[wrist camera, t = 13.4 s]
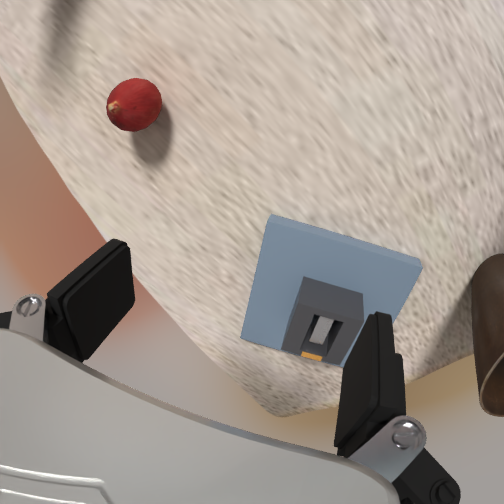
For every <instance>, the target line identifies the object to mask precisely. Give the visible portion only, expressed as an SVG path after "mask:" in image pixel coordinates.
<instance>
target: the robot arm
mask: <svg viewBox="0 0 504 504" xmlns="http://www.w3.org/2000/svg"><path fill="white" fill-rule="evenodd" d="M47 296H48V298H47V299H46V300H45V299H44V298H43V297H42V296H40V295H37V294H29V295H25V296H23V297H21V298H20V299H19V300H17V302H16V303H15V304H14V307H13V310H12V311H10V312H4V313H0V504H459V501H460V489H459V485H458V484H457V483H456V481H455V480H454V479H453V478H452V477H451V476H450V475H449V474H448V473H447V472H446V471H445V469H444V468H443V467H442V466H441V465H440V464H439V463H438V462H437V461H436V460H435V459H434V458H433V457H432V456H431V455H430V453H429V452H428V451H427V450H426V449H425V448H424V446H425V444H426V439H427V437H426V431H425V429H424V427H423V426H422V425H421V423H420V422H419V421H418V420H416V419H415V418H412V417H410V416H406V401H405V383H404V370H403V359H402V355H401V354H398V353H395V346H394V335H393V325H392V317H391V315H390V314H386V313H382V312H378V311H376V312H375V313H374V315H373V314H369V316H368V317H367V320H366V322H365V324H364V326H363V328H362V330H361V332H360V334H359V336H358V338H357V340H356V342H355V344H354V346H353V348H352V350H351V352H350V354H349V356H348V358H347V360H346V362H345V364H344V368H343V374H342V384H341V393H340V402H339V410H338V418H337V425H336V432H335V439H334V447H338V451H337V455H335V454H331V453H327V452H323V451H318V450H315V449H311V448H307V447H303V446H299V445H295V444H291V443H287V442H283V441H279V440H276V439H272V438H269V437H265V436H261V435H258V434H254V433H251V432H248V431H244V430H241V429H238V428H234V427H231V426H228V425H225V424H222V423H219V422H216V421H213V420H210V419H208V418H204V417H202V416H199V415H197V414H194V413H191V412H188V411H186V410H183V409H180V408H178V407H175V406H173V405H170V404H168V403H165V402H163V401H161V400H158V399H156V398H154V397H151V396H149V395H147V394H144V393H142V392H140V391H138V390H135V389H133V388H131V387H129V386H126V385H125V384H122V383H120V382H118V381H116V380H114V379H112V378H110V377H108V376H106V375H104V374H102V373H100V372H98V371H96V370H94V369H92V368H90V367H88V366H86V365H84V364H83V363H82V362H83V361H84V360H87V359H89V358H90V357H91V355H92V354H93V353H94V352H95V351H96V349H97V348H98V347H99V346H100V344H101V343H102V342H103V341H104V340H105V338H106V337H107V336H108V335H109V334H110V332H111V331H112V330H113V329H114V328H115V327H116V325H117V324H118V323H119V322H120V321H121V319H122V318H123V317H124V316H125V315H126V314H127V312H128V311H129V310H130V309H131V308H132V307H133V305H134V302H135V294H134V285H133V276H132V265H131V254H130V248H129V247H128V246H127V243H126V242H124V241H120V240H117V239H111V240H110V241H109V242H107V243H106V244H105V245H104V246H103V247H101V248H100V249H99V250H97V251H96V252H95V253H94V254H93V255H91V256H90V257H89V258H88V259H86V260H85V261H84V262H83V263H82V264H80V265H79V266H78V267H77V268H76V269H74V270H73V271H72V272H71V273H70V274H68V275H67V276H66V277H65V278H64V279H63V280H62V281H60V282H59V283H58V284H57V285H56V286H55V287H54V288H53V289H51V290H50V291H49V292H48V293H47ZM341 456H343V457H341Z"/></svg>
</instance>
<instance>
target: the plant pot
mask: <svg viewBox="0 0 504 504" xmlns="http://www.w3.org/2000/svg"><path fill="white" fill-rule="evenodd" d="M472 330H473V345H474V356H475V366H476V374H477V381H478V391H479V401H480V405H481V407H482V409H483V410H484V411H485V412H486V413H488V414H490V415H493V416H498V417H504V254H496V255H493V256H491V257H490V258H488V259H486V260H485V261H484V262H483V263H482V264H481V265H480V266H479V268H478V269H477V271H476V273H475V275H474V278H473V281H472Z"/></svg>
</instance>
